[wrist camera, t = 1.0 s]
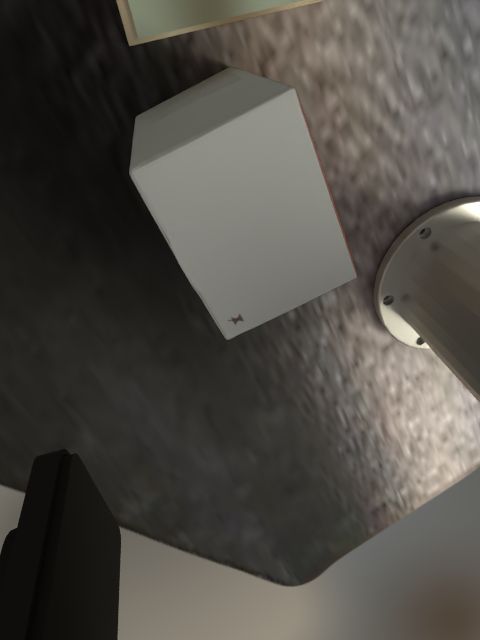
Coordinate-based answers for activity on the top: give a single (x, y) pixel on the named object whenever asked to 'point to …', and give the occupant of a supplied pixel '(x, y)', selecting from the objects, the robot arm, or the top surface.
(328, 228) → the small box
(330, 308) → the top surface
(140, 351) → the top surface
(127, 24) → the plinth
